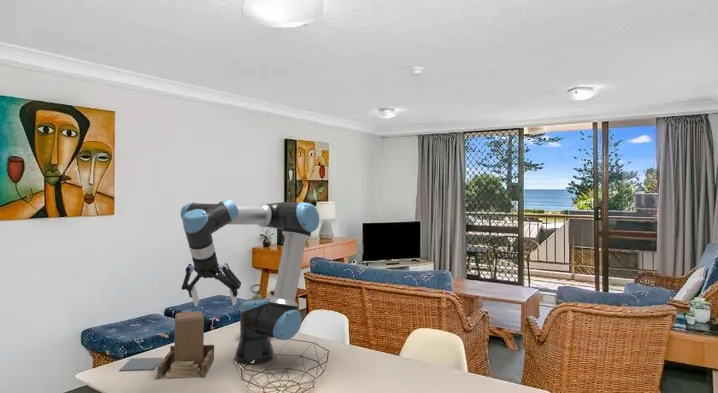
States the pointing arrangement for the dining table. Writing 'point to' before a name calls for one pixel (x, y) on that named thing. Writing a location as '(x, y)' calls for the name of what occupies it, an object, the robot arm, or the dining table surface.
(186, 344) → the wooden block
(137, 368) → the felt pad
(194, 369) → the brown wooden tray
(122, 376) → the dining table surface
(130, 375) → the dining table surface
